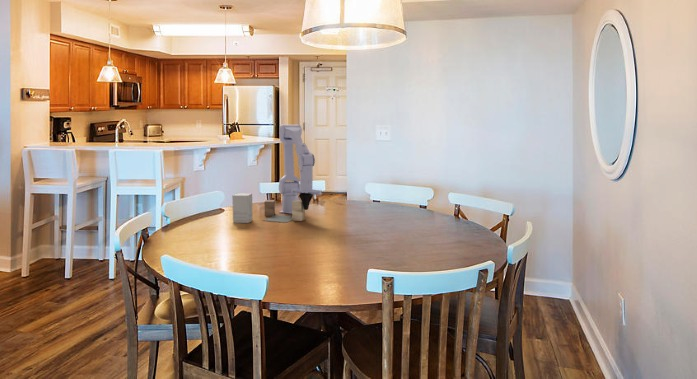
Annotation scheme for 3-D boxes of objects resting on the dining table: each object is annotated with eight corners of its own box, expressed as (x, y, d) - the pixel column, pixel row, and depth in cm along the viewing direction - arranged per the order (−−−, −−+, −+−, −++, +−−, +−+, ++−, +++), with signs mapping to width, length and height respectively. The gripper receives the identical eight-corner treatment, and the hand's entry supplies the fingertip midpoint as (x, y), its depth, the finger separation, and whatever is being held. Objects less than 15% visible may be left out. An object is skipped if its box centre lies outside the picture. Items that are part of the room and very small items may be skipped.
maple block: (296, 219, 234) (295, 200, 233) (305, 219, 232) (304, 200, 231) (292, 220, 230) (291, 201, 228) (301, 221, 228) (300, 202, 227)
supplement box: (253, 220, 230) (252, 193, 228) (248, 223, 222) (248, 195, 221) (237, 219, 230) (237, 192, 229) (232, 222, 223) (231, 195, 221)
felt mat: (276, 215, 242) (276, 214, 242) (298, 217, 238) (298, 216, 238) (262, 220, 229) (262, 220, 229) (286, 222, 225) (286, 222, 225)
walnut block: (265, 213, 245) (265, 200, 244) (274, 214, 245) (274, 200, 244) (264, 215, 241) (264, 201, 240) (273, 215, 241) (273, 201, 240)
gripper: (288, 180, 226) (288, 209, 227) (317, 182, 221) (317, 212, 223) (294, 178, 232) (294, 207, 234) (323, 180, 228) (323, 209, 230)
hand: (306, 209), depth 229 cm, fingers closed
